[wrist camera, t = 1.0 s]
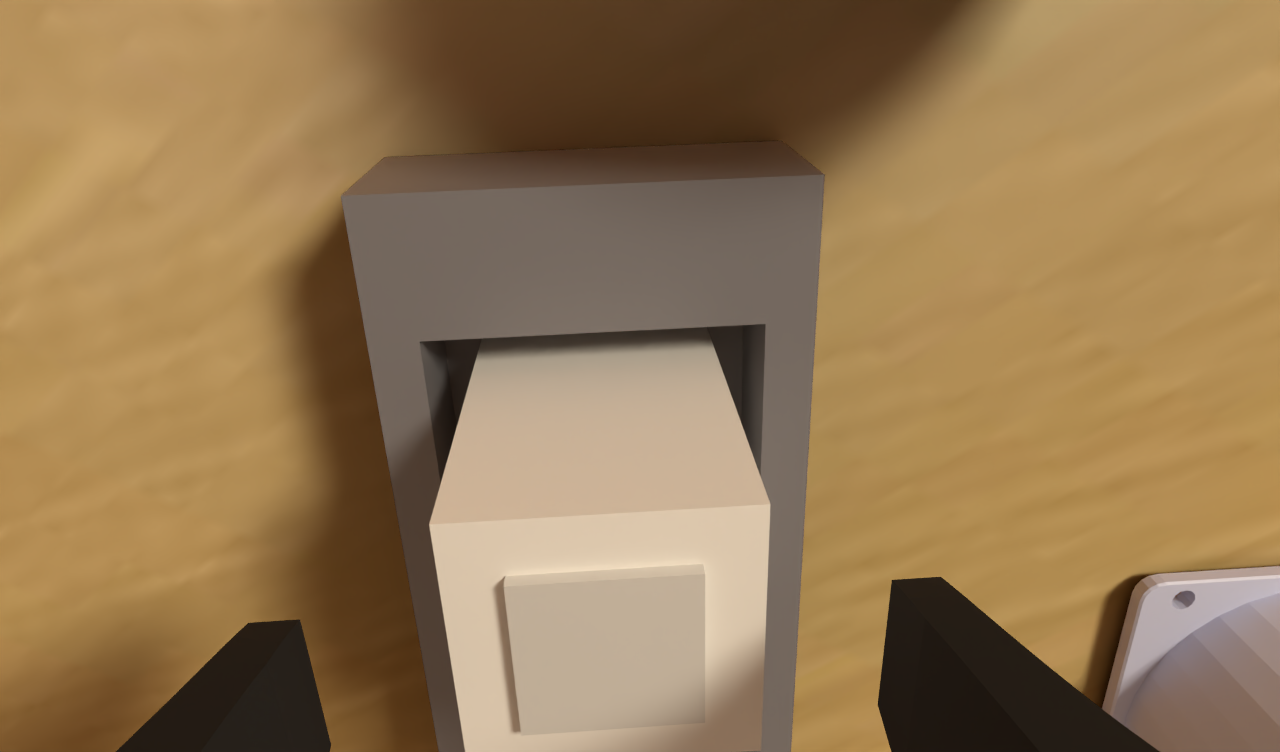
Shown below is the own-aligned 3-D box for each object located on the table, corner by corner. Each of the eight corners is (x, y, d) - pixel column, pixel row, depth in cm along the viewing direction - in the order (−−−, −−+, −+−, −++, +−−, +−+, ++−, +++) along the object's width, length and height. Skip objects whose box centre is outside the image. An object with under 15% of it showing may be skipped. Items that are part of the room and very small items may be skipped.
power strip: (781, 140, 15) (833, 181, 12) (755, 834, 23) (784, 971, 20) (384, 157, 15) (331, 204, 12) (490, 854, 23) (475, 997, 19)
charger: (704, 322, 16) (774, 513, 10) (704, 508, 17) (764, 763, 12) (483, 333, 15) (425, 534, 10) (504, 520, 17) (466, 783, 11)
